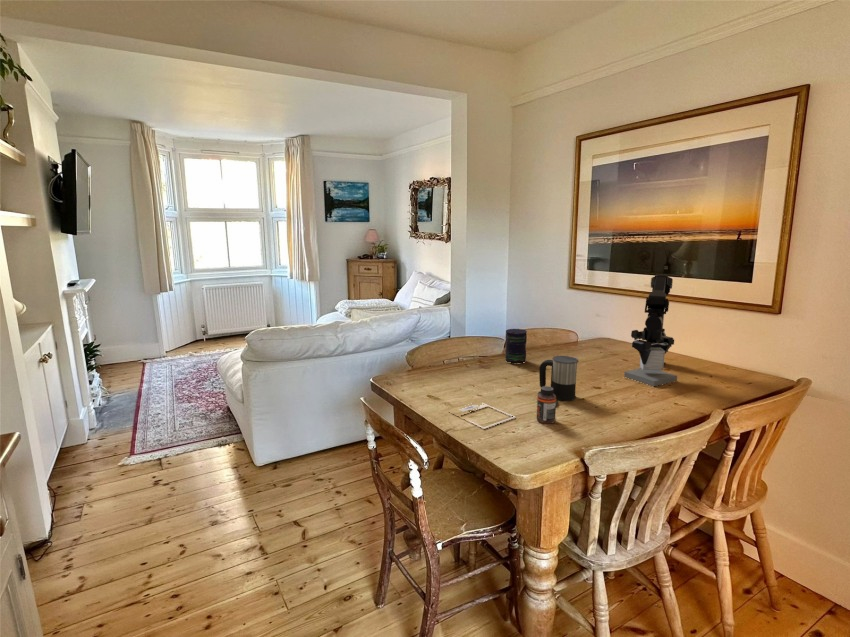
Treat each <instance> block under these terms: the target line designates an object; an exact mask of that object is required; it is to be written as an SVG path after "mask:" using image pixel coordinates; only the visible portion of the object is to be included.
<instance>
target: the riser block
mask: <svg viewBox="0 0 850 637" xmlns="http://www.w3.org/2000/svg"><path fill="white" fill-rule="evenodd" d="M623 377H624V378H625V377H627V378H626V379H628V378H629V379H628V380H631V379H633V380H632V381H634V380H636V381H635V382H637V381H639V382H638V383H640V382H642V383H641V384H643V383H644V384H643V385H646V384H648V385H647V386H649V385H651V386H650V387H652V386H653V387H652V388H655V387H654V386H657V387H659V386H658V385H661V386H663V385H662V384H665V385H667V384H666V383H669V384H671V383H670V382H673V383H675V382H674V381H678V375H676V374H673V373H669V372H665V371H664V370H643V369H642V368H641V367H639V368H635V369H631V370H626V371H624V376H623Z"/></svg>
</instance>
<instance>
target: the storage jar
mask: <svg viewBox="0 0 850 637" xmlns="http://www.w3.org/2000/svg"><path fill="white" fill-rule="evenodd" d="M527 333H528V332H527V330H526V329H522V328H508V329H506V330H505V352H504V353H505V354H504V357H505V360H506V361H507V362H511V363H523V362H525V361H526V360H527V358H526V357H527V350H526V349H527V347H526V346H527V340H528V338H527ZM526 362H527V361H526Z"/></svg>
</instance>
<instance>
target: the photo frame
mask: <svg viewBox="0 0 850 637" xmlns="http://www.w3.org/2000/svg"><path fill="white" fill-rule="evenodd" d="M483 404H484V405H483ZM487 406H489V407H491V408H493V409H496V410H497V411H496V412H498V411H499V412H498V413H500V412H502V413H504V414H506V415H505V416H507V415H508V416H507V417H509V416H510V417H509V418H506V419H503V420H500V421H497V422H495V423H492V424H489V425H486V426H483V425H480V424H479V423H476V422H473V421H472V420H470V419H468V420H469V421H470V422H471V423H473V424H475V425H477V426H479V427H481V428H483V429H486V428H488V429H490V428H489V427H491V426H494V427H496V426H495V425H497V424H499V425H501V424H500V423H502V424H504V423H503V422H505V423H507V422H506V421H508V422H509V420H510V421H512V420H511V419H513V420H515V418H516V419H517V417H516V416H515V415H512V414H511V413H507V412H506V411H503V410H501V409H498V408H496V407H493V406H492V405H489V404H486V403H484V402H482V405H480V406H478V405H472V406H469V407H465V408H462V409H459V410H460V411H462V412H465V411H468V410H472V409H473V410H474V409H476V410H477V408H478V409H481V408H484V407H487ZM491 408H490V409H491ZM493 409H492V410H493ZM481 410H482V409H481ZM470 412H471V411H470ZM502 413H501V414H502ZM504 414H503V415H504ZM512 416H513V417H512ZM471 423H470V424H471ZM473 424H472V425H473ZM475 425H474V426H475ZM477 426H476V427H477ZM497 426H498V425H497ZM479 427H478V428H479ZM481 428H480V429H481ZM491 428H492V427H491ZM483 429H482V430H483ZM486 430H487V429H486Z"/></svg>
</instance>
